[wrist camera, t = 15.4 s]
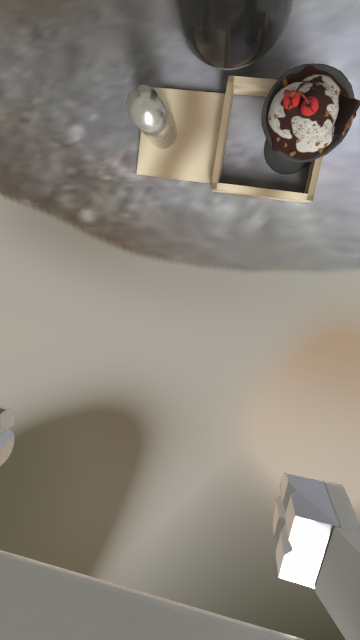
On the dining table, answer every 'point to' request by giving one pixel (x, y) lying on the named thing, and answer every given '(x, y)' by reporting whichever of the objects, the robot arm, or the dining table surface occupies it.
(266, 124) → the sundae
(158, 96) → the wooden frame tray
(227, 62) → the pump dispenser
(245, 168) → the dining table surface
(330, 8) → the dining table surface
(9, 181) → the dining table surface
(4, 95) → the dining table surface
